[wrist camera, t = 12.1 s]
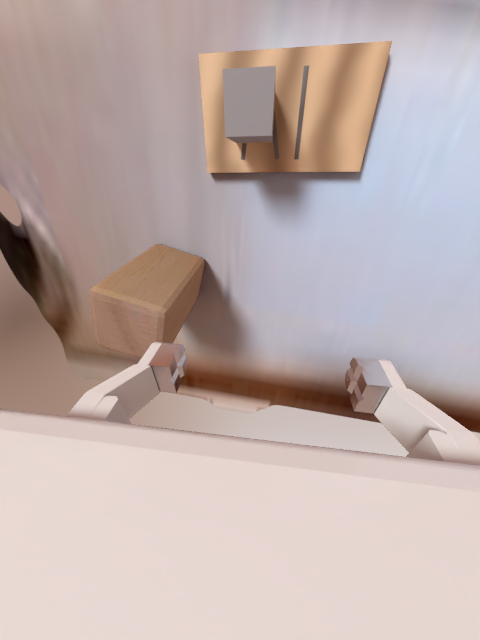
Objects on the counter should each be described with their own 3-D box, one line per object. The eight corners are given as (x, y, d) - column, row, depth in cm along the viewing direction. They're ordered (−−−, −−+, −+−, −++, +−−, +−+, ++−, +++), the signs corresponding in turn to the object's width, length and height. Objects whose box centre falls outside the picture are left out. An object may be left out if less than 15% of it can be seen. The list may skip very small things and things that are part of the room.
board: (386, 46, 26) (392, 40, 25) (356, 171, 33) (359, 171, 31) (201, 58, 28) (198, 53, 27) (209, 172, 35) (207, 172, 34)
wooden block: (153, 285, 48) (92, 347, 32) (156, 240, 42) (83, 288, 26) (198, 299, 49) (160, 367, 33) (207, 257, 43) (166, 313, 27)
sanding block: (275, 91, 28) (275, 65, 21) (272, 142, 31) (271, 135, 23) (235, 93, 28) (222, 69, 21) (236, 143, 31) (225, 136, 24)
